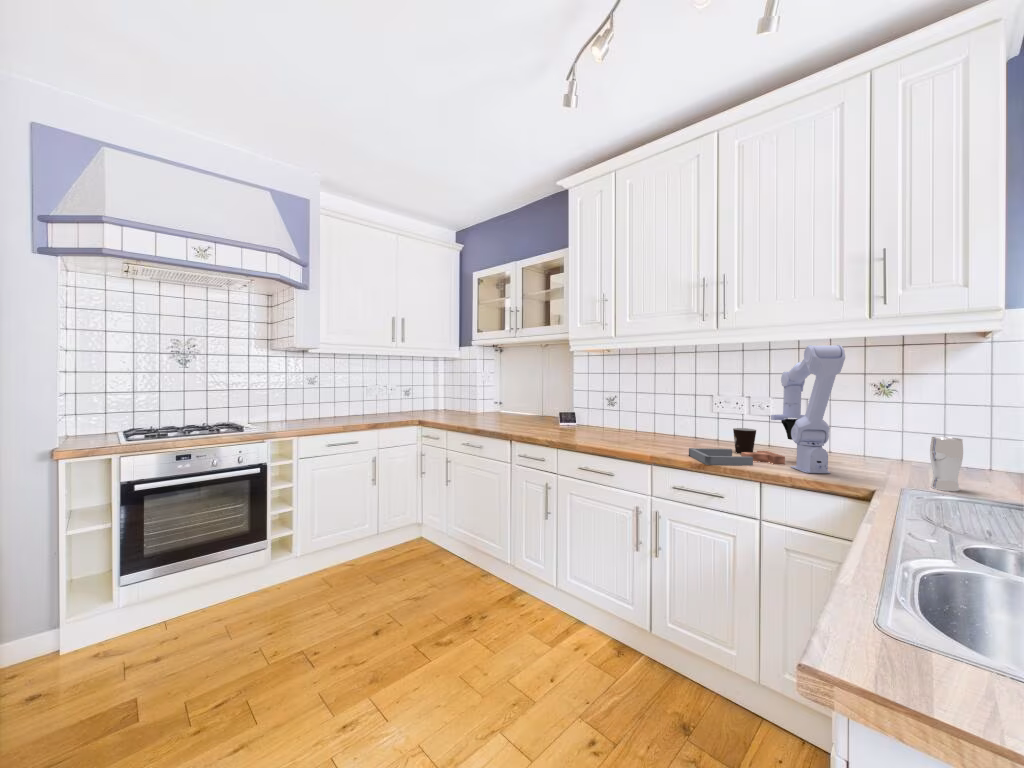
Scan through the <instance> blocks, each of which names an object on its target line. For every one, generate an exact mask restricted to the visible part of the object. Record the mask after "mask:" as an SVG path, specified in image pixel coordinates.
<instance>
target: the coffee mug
mask: <svg viewBox="0 0 1024 768" xmlns="http://www.w3.org/2000/svg"><path fill="white" fill-rule="evenodd" d="M732 430H733V440H734V450H735V453H736V452H737V453H736V454H738V453H741V452H754V449H755V441H756V435H757V429H756V428H755V429H754V428H747V427H734V428H733V429H732Z"/></svg>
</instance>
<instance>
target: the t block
mask: <svg viewBox="0 0 1024 768" xmlns="http://www.w3.org/2000/svg"><path fill="white" fill-rule="evenodd" d="M740 456H742V457H753V461H760V462H759V463H768V462H770V463H769V464H771V463H773V464H772V465H774V464H786V463H785V462H786V456H784V455H781V454H778V453H776V452H772V451H769V450H757V452H755V451H753V452H741V454H740Z"/></svg>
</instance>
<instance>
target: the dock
mask: <svg viewBox="0 0 1024 768" xmlns="http://www.w3.org/2000/svg"><path fill="white" fill-rule="evenodd" d="M689 455H690V456H689ZM688 456H689V457H691V458H692V459H694V458H695V460H696V459H697V461H698V462H700V463H702V464H704V465H706V466H742V465H753V466H754V462H753V457H742V456H741V455H740V456H739V455H738V456H734V455H733V449H731V448H708V447H707V448H704V447H703V448H701V447H699V448H698V447H697V448H696V447H689V448H688Z"/></svg>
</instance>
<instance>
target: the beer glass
mask: <svg viewBox="0 0 1024 768" xmlns="http://www.w3.org/2000/svg"><path fill="white" fill-rule="evenodd" d="M963 440H964V439H963V438H959V437H958V438H957V437H951V436H950V437H949V436H931V441H930V448H929V457H930V464H931V468H932V469H931V470H932V480H931V483H930V487H931V488H932V489H934V490H938V491H943V492H950V493H952V492H953V493H959V492H960V490H961V489H960V486H959V485H960V484H959V475H960V471H961V467H962V464H963V460H964V443H963V442H964V441H963Z"/></svg>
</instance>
